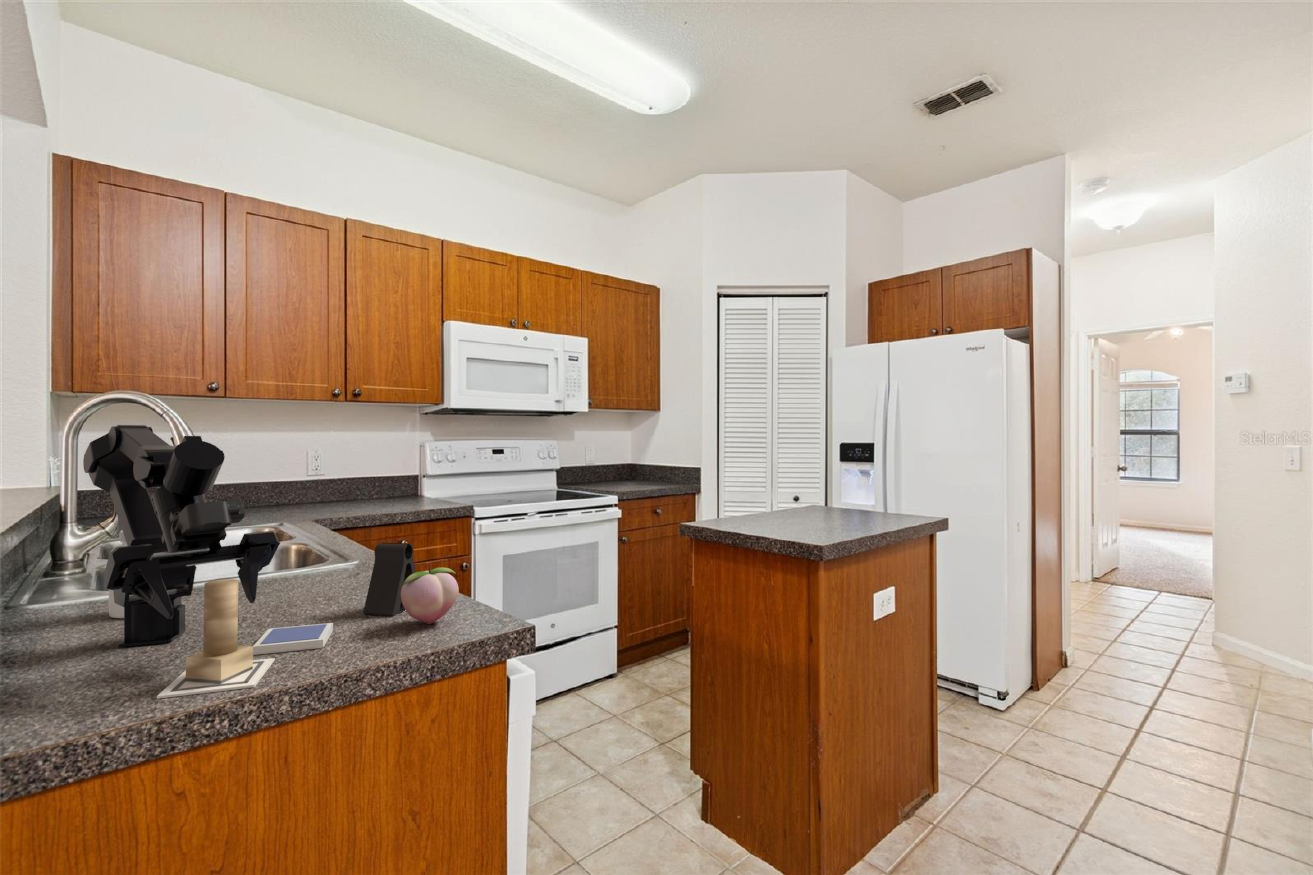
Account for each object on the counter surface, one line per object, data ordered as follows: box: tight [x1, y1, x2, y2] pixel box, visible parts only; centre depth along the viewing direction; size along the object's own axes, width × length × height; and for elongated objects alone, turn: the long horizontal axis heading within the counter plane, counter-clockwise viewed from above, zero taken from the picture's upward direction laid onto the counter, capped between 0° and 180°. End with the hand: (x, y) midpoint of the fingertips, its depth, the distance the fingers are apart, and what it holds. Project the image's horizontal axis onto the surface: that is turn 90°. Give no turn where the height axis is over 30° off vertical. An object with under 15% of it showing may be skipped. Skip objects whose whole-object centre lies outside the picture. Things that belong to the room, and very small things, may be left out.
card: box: [156, 657, 276, 700], centre depth 79 cm, size 10×10×1 cm
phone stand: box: [362, 542, 417, 617], centre depth 112 cm, size 9×6×12 cm, turn 167°
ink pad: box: [252, 622, 334, 656], centre depth 93 cm, size 9×9×1 cm
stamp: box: [185, 578, 254, 684], centre depth 79 cm, size 5×5×12 cm
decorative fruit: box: [401, 563, 460, 625], centre depth 103 cm, size 9×8×10 cm
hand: (214, 608), depth 80 cm, fingers open, 9 cm apart
